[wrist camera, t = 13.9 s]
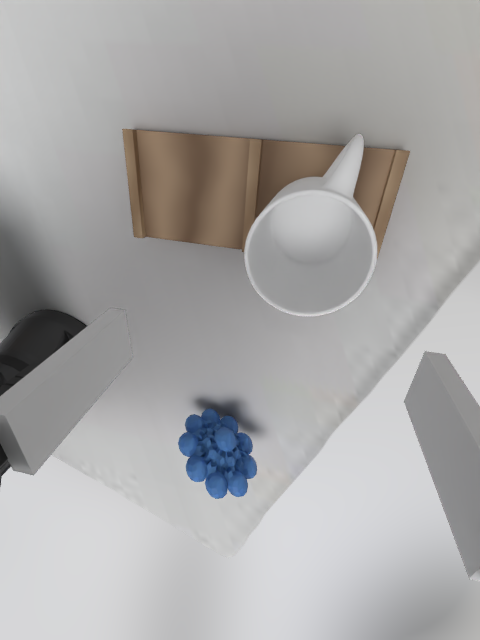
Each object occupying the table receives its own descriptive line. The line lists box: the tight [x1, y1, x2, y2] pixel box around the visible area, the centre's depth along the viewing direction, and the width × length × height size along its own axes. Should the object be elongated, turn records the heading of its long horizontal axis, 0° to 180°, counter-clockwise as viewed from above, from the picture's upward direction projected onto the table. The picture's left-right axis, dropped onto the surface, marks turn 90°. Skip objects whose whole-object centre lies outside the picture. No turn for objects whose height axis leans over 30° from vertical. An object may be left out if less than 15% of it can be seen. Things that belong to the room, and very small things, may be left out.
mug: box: [244, 134, 377, 316], centre depth 24 cm, size 9×12×11 cm
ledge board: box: [122, 129, 410, 258], centre depth 30 cm, size 25×10×2 cm, turn 87°
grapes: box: [178, 408, 257, 499], centre depth 41 cm, size 12×7×12 cm, turn 68°
